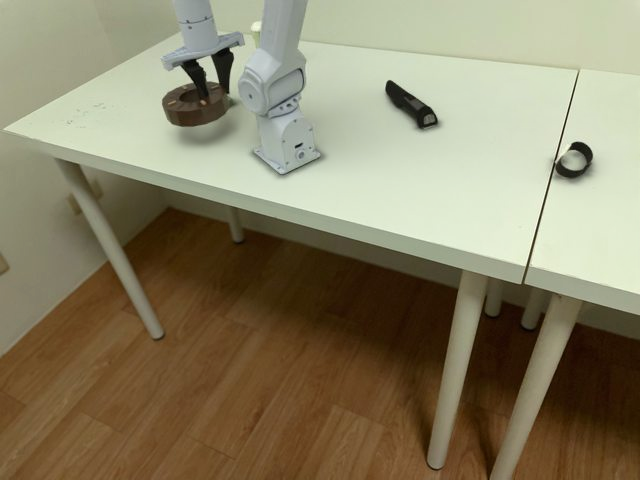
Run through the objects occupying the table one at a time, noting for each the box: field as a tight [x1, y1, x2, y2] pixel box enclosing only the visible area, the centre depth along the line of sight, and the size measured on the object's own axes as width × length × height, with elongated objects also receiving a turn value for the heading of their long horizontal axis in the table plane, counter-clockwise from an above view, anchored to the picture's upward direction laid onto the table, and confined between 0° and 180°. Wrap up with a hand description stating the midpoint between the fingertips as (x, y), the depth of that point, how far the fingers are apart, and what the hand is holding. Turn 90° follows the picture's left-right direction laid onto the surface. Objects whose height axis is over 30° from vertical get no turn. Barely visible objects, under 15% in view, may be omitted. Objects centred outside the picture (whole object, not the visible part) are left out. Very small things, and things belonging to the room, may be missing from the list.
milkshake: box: [250, 20, 262, 50], centre depth 107 cm, size 4×5×10 cm
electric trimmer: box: [384, 79, 439, 130], centre depth 87 cm, size 4×16×3 cm, turn 21°
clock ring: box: [161, 80, 230, 128], centre depth 83 cm, size 11×11×3 cm
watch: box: [554, 141, 594, 179], centre depth 69 cm, size 8×5×4 cm, turn 140°
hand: (216, 96), depth 85 cm, fingers closed on clock ring, 3 cm apart
